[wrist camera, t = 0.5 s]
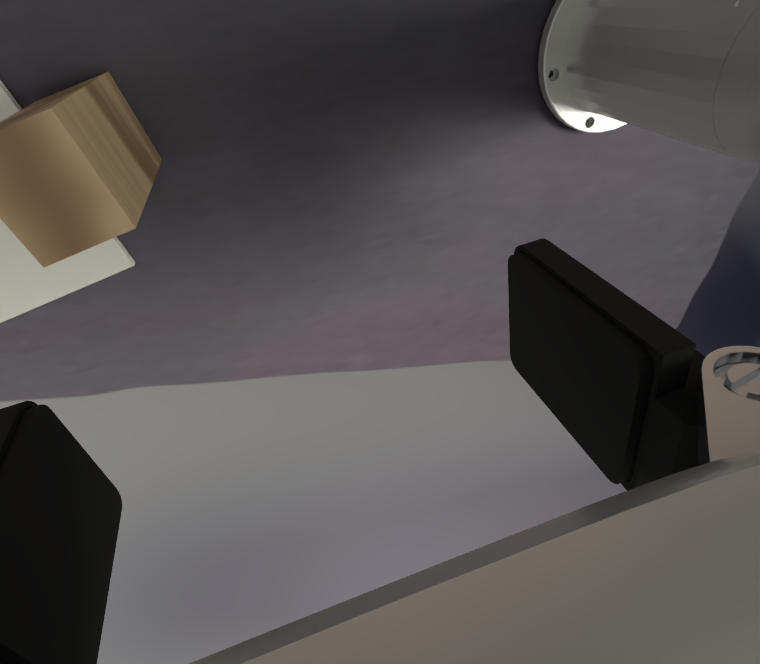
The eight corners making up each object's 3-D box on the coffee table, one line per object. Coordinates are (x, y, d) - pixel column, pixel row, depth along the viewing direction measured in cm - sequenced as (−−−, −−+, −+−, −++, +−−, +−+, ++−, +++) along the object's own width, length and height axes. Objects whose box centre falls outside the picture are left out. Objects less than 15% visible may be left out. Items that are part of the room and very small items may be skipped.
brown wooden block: (108, 71, 32) (51, 107, 21) (162, 159, 35) (136, 228, 25) (36, 101, 31) (-58, 153, 21) (97, 187, 35) (43, 267, 25)
